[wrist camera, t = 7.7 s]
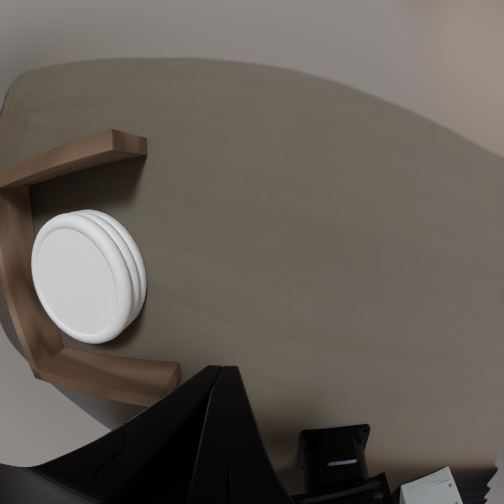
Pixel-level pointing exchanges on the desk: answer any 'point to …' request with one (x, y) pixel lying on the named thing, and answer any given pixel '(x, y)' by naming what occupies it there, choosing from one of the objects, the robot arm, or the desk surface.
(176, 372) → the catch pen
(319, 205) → the desk surface
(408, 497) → the supplement box
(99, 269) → the coaster
